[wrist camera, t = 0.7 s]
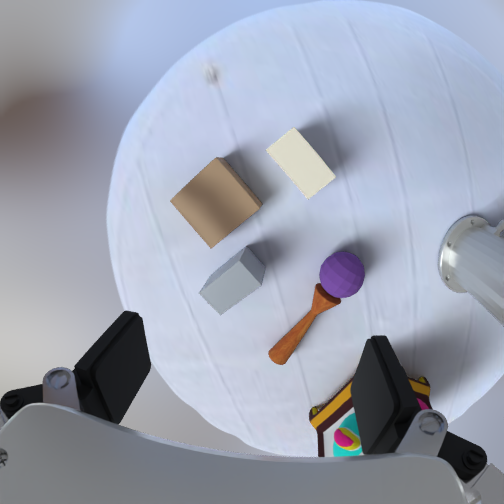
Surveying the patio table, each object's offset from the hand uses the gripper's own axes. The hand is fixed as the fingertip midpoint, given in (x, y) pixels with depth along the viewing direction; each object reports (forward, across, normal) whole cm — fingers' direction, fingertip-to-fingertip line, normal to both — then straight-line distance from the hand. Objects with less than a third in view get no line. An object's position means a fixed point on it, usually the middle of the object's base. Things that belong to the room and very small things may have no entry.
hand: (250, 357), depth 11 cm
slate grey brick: (+28, +4, +8) cm, 29 cm away
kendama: (+28, -7, +12) cm, 31 cm away
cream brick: (+28, -3, -7) cm, 29 cm away
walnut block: (+28, +7, -2) cm, 29 cm away
